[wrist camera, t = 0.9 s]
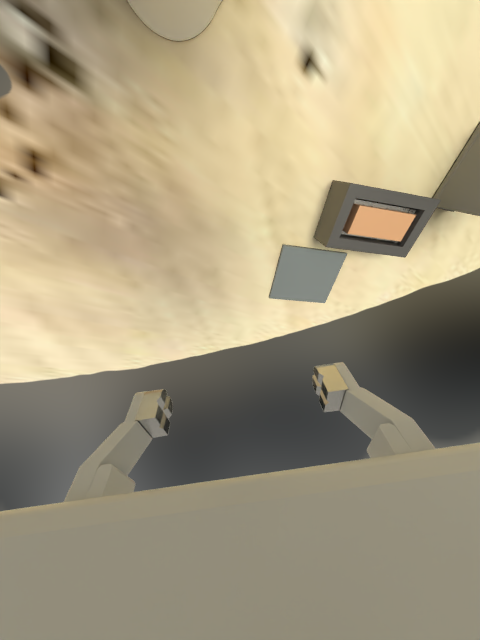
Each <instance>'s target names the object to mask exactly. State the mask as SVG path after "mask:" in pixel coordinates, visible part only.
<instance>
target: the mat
mask: <svg viewBox="0 0 480 640" xmlns="http://www.w3.org/2000/svg"><path fill="white" fill-rule="evenodd" d="M346 256H347V253H344V252H337V251H329V250H321V249H314V248H306V247H298V246H291V245H283V246H282V250H281V254H280V257H279V261H278V265H277V269H276V272H275V276H274V280H273V284H272V288H271V291H270V295H269V298H273V299H284V300H296V301H307V302H318V303H325V302H326V300H327V297H328V295H329V293H330V291H331V289H332V286H333V284H334V282H335V280H336V278H337V275H338V273H339V271H340V269H341V267H342V264H343V262H344V260H345V258H346Z"/></svg>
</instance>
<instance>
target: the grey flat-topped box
mask: <svg viewBox="0 0 480 640" xmlns="http://www.w3.org/2000/svg"><path fill="white" fill-rule="evenodd" d="M433 199H438V200H441V201H440V203H439V204H438V206H437V207H436V208H440V209H444V210H448V211H453V212H454V211H458V212H463V213H467V214H472V215H477V216H480V124H478V126H477V128H476V130H475V132H474V133H473V135H472V136H471V138H470V140H469V141H468V143H467V144H466V146H465V147H464V149H463V151H462V152H461V154H460V155H459V157H458V159H457V160H456V162H455V163H454V165H453V167H452V168H451V170H450V171H449V173H448V175H447V176H446V178H445V179H444V181H443V182H442V184H441V186H440V187H439V189H438V190H437V192H436V194H435V195H434V197H433Z"/></svg>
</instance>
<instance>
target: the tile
mask: <svg viewBox="0 0 480 640" xmlns="http://www.w3.org/2000/svg"><path fill="white" fill-rule="evenodd" d="M415 216H416V215H414V214H410V213H406V212H400V211H395V210H389V209H383V208H377V207H371V206H365V205H360V204H354V203H353V206H352V208H351V211H350V213H349V216H348V218H347V220H346V223H345V225H344V228H343V230H342V231H344V232H346V233H347V234H353V235H360V236H366V237H373V238H380V239H387V240H394V241H401V240H402V238H403V237H404V235H405V233H406V232H407V230H408V228H409V226H410V225H411V223H412V221H413V220H414V218H415Z"/></svg>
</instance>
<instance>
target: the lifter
mask: <svg viewBox="0 0 480 640" xmlns="http://www.w3.org/2000/svg"><path fill="white" fill-rule="evenodd" d="M354 204H360V205H365V206H371V207H377V208H383V209H389V210H395V211H400V212H406V213H410V214H414V213H415V211H416V210H413V209H408V208H403V207H397V206H392V205H386V204H380V203H374V202H369V201H363V200H357V199H355V201H354ZM408 211H409V212H408ZM341 234H344V235H351V236H357V237H364V238H371V239H378V240H385V241H392V240H387V239H380V238H373V237H366V236H360V235H353V234H347V233H346V232H344V231H342V233H341ZM392 242H394V243H398V241H394V240H393V241H392Z"/></svg>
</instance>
